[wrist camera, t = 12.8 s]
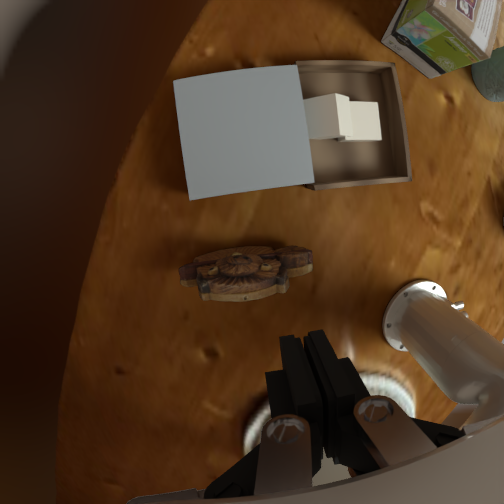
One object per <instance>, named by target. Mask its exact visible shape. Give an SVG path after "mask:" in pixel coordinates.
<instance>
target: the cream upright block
mask: <svg viewBox="0 0 504 504" xmlns="http://www.w3.org/2000/svg"><path fill="white" fill-rule="evenodd" d="M303 103H304V109H305V116H306V122H307V129H308V136H309V139H319V140H321V139H330V138H341V137H352V136H353V129H352V120H351V111H350V102H349V97H347V96H344V95H340V94H337V93H333V94H328V95H323V96H318V97H314V98H309V99H304V100H303Z"/></svg>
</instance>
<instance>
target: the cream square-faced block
mask: <svg viewBox="0 0 504 504" xmlns="http://www.w3.org/2000/svg"><path fill="white" fill-rule="evenodd" d="M349 102H350V111H351V120H352V129H353V136H352V137H341V138H338V142H373V141H379V140H382V138H381V128H380V119H379V110H378V102H359V101H349Z"/></svg>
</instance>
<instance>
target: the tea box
mask: <svg viewBox="0 0 504 504" xmlns="http://www.w3.org/2000/svg"><path fill="white" fill-rule="evenodd" d="M501 6H502V0H402V2H401V4H400V6H399V8H398V10H397V12H396V13H395V15H394V17H393V19H392V21H391V23H390V25H389V27H388V28H387V30H386V32H385V34H384V36H383V38H382V40H381V42H382V43H383V44H385V45H386V46H387V47H389V48H390V49H392V50H393V51H394V52H396V53H397V54H398V55H400V56H401V57H402V58H404V59H405V60H406V61H408V62H409V63H410V64H411V65H413V66H414V67H415V68H417V69H418V70H419V71H420V72H421V73H423V74H424V75H425V76H426V77H428V78H434V77H437V76H440V75H442V74H445V73H447V72H450V71H453V70H456V69H458V68H462V67H465V66H467V65H470V64H473V63H477V62H480V61H483V60H485V59H488V58H490V56H491V53H492V50H493V46H494V42H495V37H496V32H497V27H498V22H499V17H500V12H501Z"/></svg>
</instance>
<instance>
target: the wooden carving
mask: <svg viewBox="0 0 504 504" xmlns="http://www.w3.org/2000/svg"><path fill="white" fill-rule="evenodd" d="M193 262H194V263H190V264H186V265H184V266H182V267H180V268H179V274H180V284H181V285H183V286H186V287H194V286H198V290H199V296H200V298H201V299H202V300H204V301H207V300H216V301H234V302H241V301H249V300H256V299H260V298H264V297H267V296H270V295H273V294H275V293H285V292H287V289H288V288H289V277H296V276H302V275H305V274H306V273H309V272H311V271H312V270H313V261H312V251H311V250H308V249H306V248H303V247H298V246H287V247H284V248H280V249H277V250H274V249H273V248H271V247H265V246H245V247H236V248H231V249H224V250H218V251H214V252H211V253H207V254H204V255H201V256H198V257H196V258H195V259H194V260H193Z"/></svg>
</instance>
